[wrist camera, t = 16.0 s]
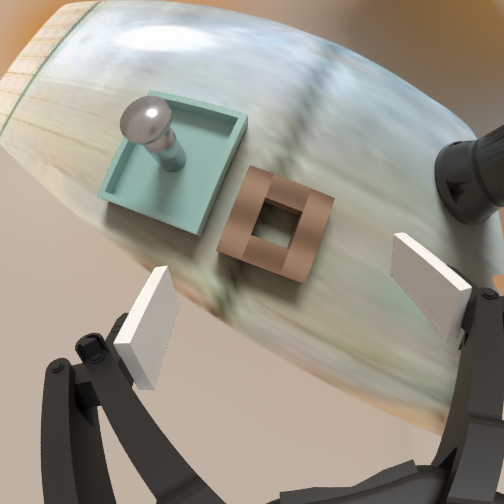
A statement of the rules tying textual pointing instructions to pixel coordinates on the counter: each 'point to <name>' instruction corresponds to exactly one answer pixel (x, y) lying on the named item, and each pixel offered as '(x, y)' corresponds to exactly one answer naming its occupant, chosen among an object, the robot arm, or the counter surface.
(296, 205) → the holder
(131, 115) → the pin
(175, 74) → the counter surface
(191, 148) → the tray
